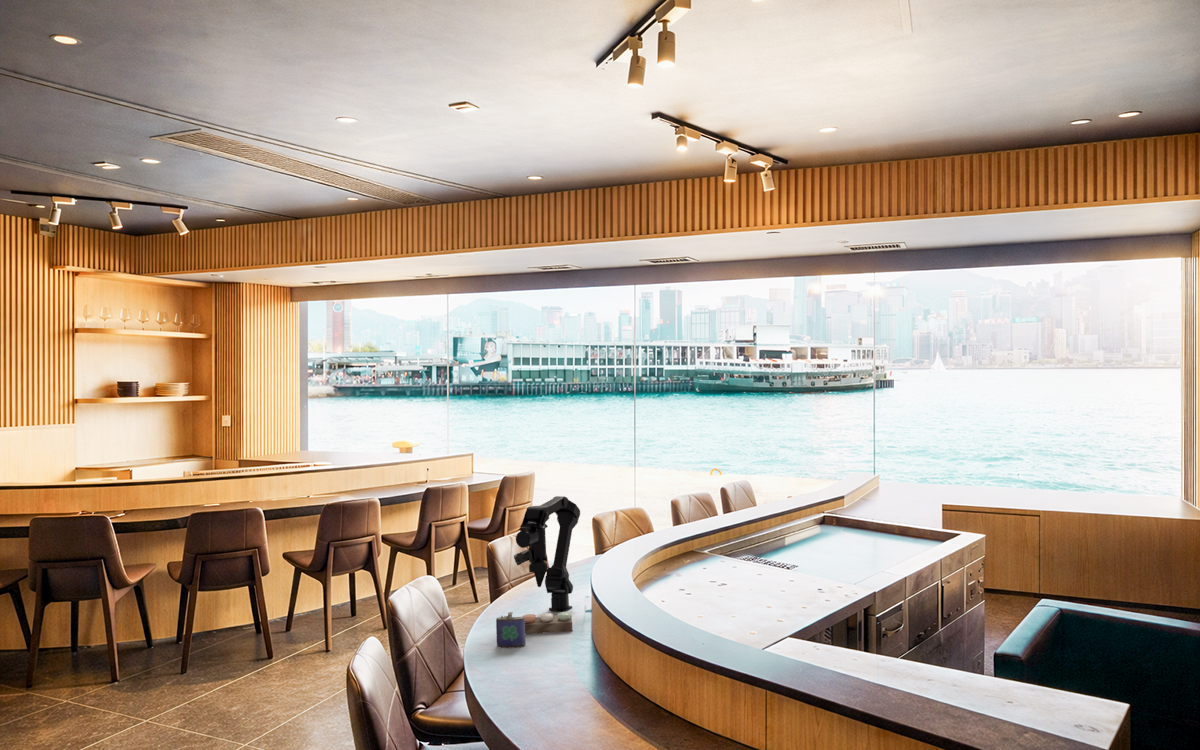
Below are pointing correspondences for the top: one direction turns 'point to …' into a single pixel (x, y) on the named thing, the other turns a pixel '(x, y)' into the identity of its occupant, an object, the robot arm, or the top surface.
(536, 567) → the robot arm
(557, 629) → the console
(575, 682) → the top surface
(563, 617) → the button sage
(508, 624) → the flask
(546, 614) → the button cream
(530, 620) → the button terracotta
